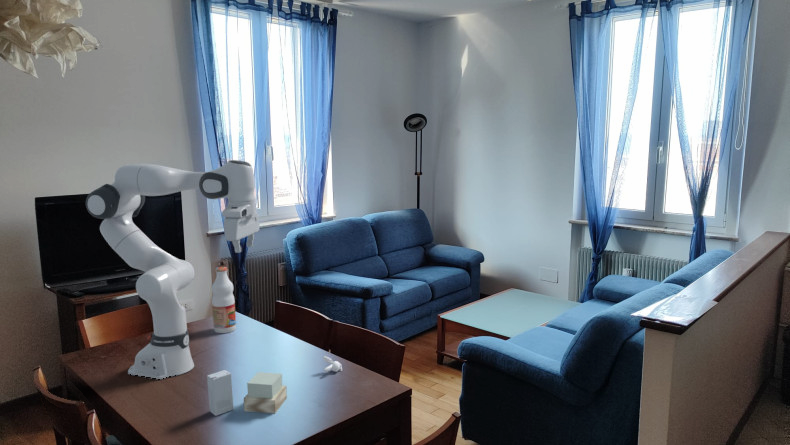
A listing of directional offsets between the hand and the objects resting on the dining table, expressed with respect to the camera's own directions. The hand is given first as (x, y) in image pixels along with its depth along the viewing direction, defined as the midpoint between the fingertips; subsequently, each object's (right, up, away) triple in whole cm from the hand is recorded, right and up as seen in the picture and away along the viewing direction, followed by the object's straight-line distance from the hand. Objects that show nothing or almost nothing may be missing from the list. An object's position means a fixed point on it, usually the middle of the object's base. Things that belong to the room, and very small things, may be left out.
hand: (244, 249), depth 183 cm
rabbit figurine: (+28, -45, +10) cm, 54 cm away
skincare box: (-2, -49, -17) cm, 52 cm away
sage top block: (+11, -44, -14) cm, 47 cm away
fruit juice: (-24, -38, +54) cm, 70 cm away
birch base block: (+11, -48, -13) cm, 51 cm away
